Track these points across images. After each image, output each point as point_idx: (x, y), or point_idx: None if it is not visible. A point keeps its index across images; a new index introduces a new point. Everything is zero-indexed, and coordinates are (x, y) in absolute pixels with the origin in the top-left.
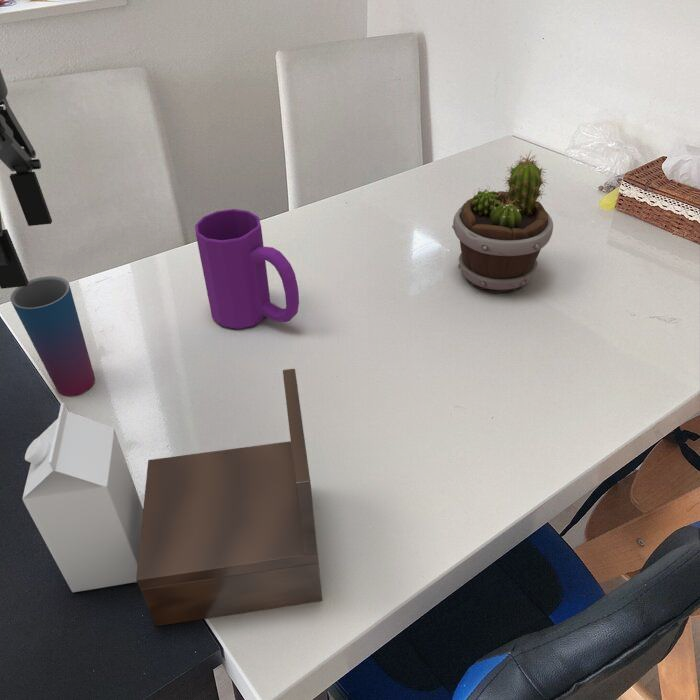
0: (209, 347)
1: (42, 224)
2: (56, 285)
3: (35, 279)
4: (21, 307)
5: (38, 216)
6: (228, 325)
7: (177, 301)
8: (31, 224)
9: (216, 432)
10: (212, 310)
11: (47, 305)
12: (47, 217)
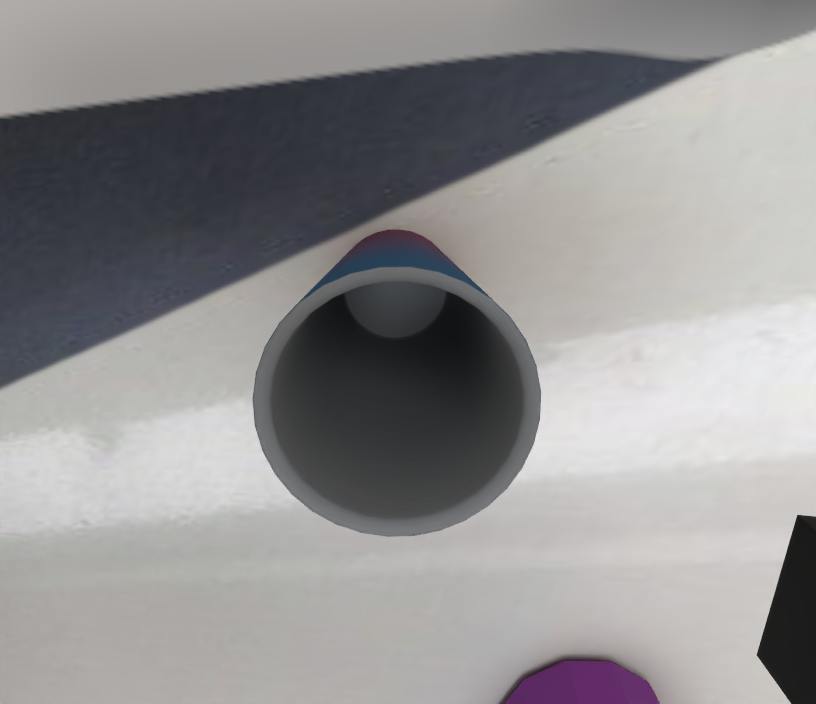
0: (447, 636)
1: (773, 603)
2: (501, 443)
3: (527, 375)
4: (277, 333)
5: (809, 644)
6: (510, 699)
7: (704, 570)
8: (798, 542)
9: (111, 627)
10: (563, 691)
11: (264, 451)
12: (787, 684)
